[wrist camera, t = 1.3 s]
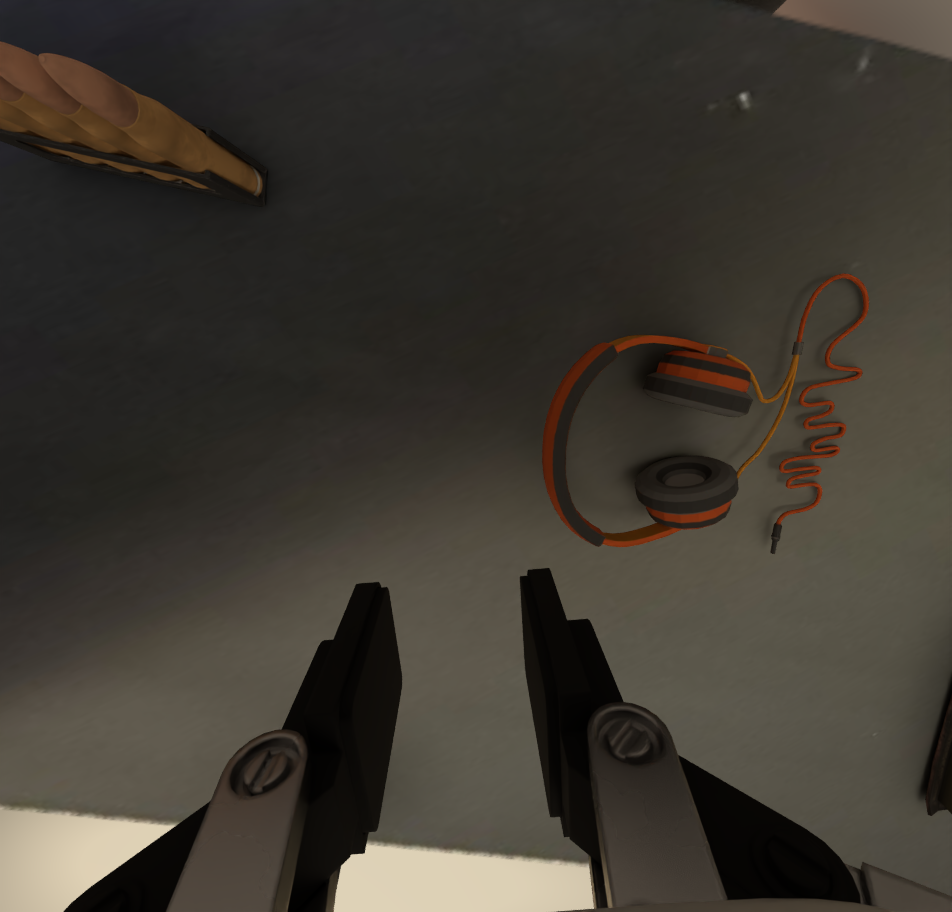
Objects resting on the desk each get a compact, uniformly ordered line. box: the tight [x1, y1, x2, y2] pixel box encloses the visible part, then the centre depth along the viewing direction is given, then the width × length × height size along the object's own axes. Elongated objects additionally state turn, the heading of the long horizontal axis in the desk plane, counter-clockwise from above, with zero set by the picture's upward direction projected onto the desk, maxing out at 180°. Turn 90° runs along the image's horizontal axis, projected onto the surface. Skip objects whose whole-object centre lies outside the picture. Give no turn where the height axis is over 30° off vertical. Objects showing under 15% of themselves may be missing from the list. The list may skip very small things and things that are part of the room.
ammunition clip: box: [0, 41, 267, 207], centre depth 17 cm, size 11×2×12 cm, turn 79°
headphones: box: [542, 274, 869, 554], centre depth 26 cm, size 17×5×20 cm
